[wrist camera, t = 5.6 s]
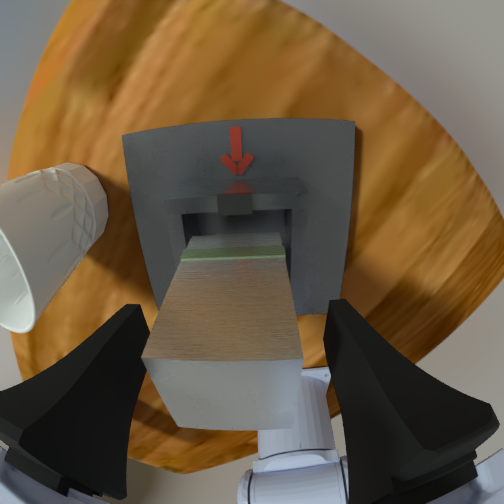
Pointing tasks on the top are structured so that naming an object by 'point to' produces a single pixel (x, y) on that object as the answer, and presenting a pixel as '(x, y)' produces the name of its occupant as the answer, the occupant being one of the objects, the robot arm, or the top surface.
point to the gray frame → (247, 195)
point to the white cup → (45, 237)
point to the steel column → (228, 336)
